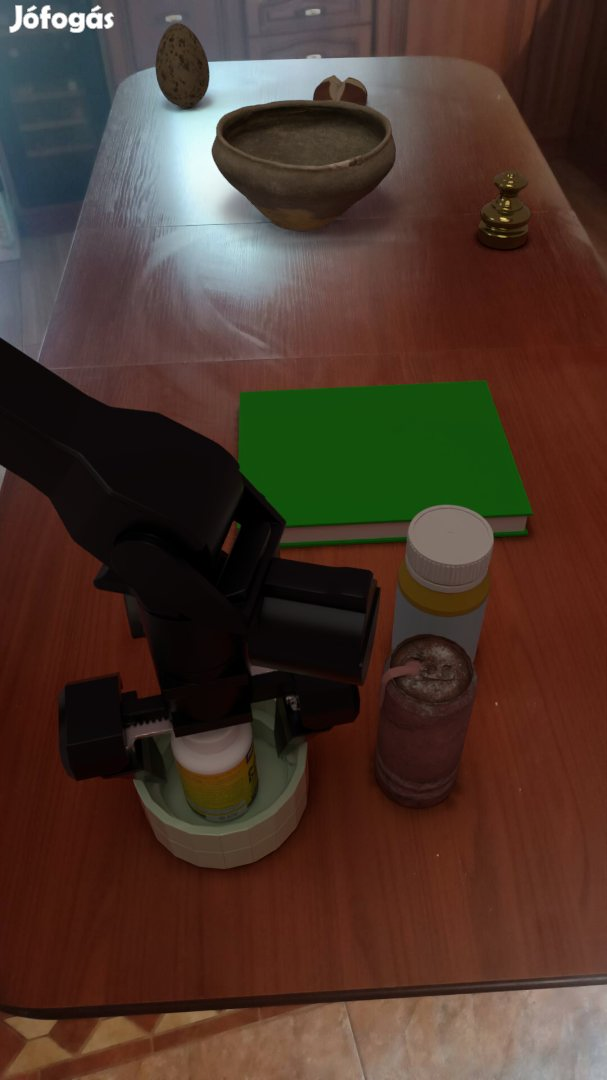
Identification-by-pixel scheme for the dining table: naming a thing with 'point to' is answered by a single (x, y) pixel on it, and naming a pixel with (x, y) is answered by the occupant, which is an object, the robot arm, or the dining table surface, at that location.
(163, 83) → the decorative egg
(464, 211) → the dining table surface
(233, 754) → the supplement bottle
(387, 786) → the can
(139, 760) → the robot arm
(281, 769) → the ceramic bowl
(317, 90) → the bread
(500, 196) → the brass turned ornament
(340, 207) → the bowl
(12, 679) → the dining table surface
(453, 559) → the bottle
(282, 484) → the book
